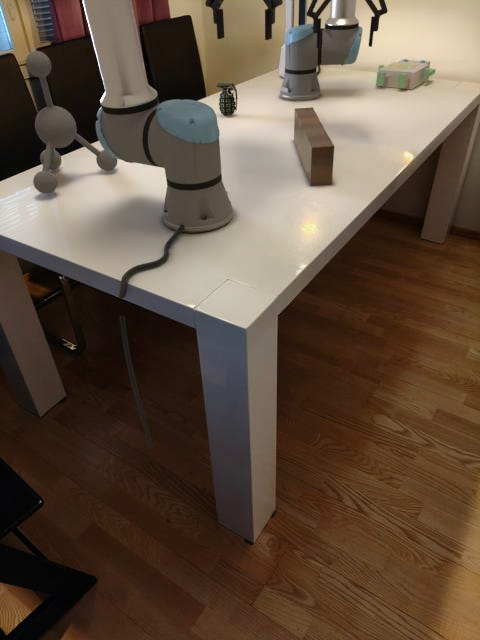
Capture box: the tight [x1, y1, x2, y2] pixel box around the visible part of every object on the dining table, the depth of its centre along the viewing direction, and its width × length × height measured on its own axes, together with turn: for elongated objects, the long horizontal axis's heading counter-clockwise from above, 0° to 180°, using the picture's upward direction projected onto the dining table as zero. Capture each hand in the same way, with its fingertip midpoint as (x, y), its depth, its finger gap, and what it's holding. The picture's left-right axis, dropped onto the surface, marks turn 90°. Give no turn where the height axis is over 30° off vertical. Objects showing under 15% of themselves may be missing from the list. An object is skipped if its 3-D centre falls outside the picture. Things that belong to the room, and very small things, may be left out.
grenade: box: [215, 82, 238, 117], centre depth 166 cm, size 7×6×10 cm
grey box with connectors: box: [375, 58, 437, 90], centre depth 192 cm, size 26×6×20 cm
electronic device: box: [278, 0, 308, 79], centre depth 202 cm, size 12×8×30 cm, turn 105°
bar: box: [293, 107, 335, 186], centre depth 129 cm, size 34×5×9 cm, turn 2°
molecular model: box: [25, 50, 118, 195], centre depth 121 cm, size 24×22×30 cm
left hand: (244, 39), depth 127 cm, fingers open, 13 cm apart
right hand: (344, 46), depth 130 cm, fingers open, 13 cm apart
